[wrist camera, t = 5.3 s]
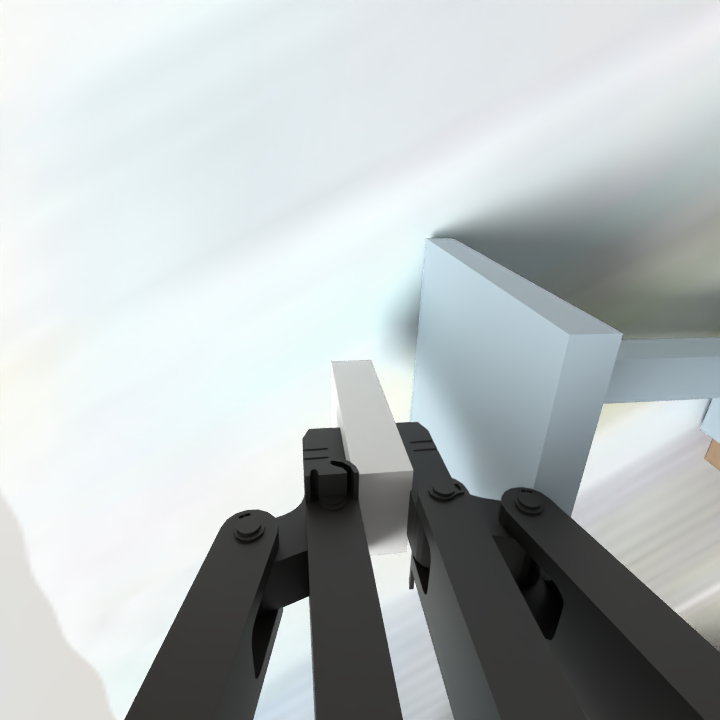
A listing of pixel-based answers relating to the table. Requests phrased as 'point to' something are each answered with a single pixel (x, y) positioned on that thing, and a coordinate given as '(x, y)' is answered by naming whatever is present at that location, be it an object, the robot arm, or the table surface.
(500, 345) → the plunger
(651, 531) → the table surface
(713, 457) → the tunnel
